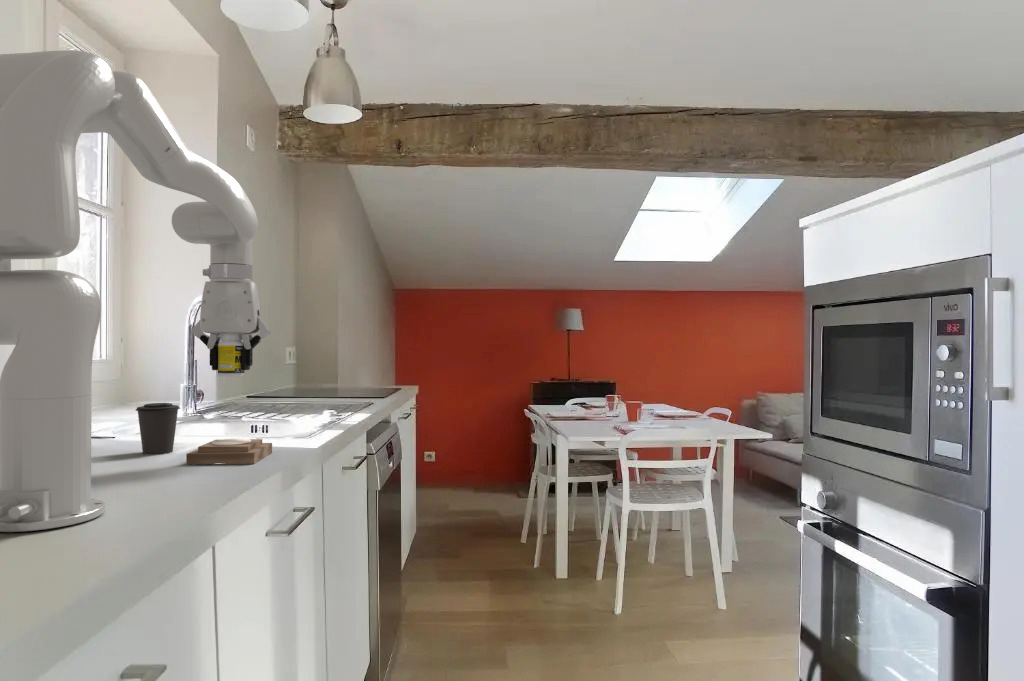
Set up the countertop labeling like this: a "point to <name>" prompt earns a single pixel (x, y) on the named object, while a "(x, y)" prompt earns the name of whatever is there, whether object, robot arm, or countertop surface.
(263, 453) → the plinth
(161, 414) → the coffee cup
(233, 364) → the supplement bottle
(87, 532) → the countertop surface
